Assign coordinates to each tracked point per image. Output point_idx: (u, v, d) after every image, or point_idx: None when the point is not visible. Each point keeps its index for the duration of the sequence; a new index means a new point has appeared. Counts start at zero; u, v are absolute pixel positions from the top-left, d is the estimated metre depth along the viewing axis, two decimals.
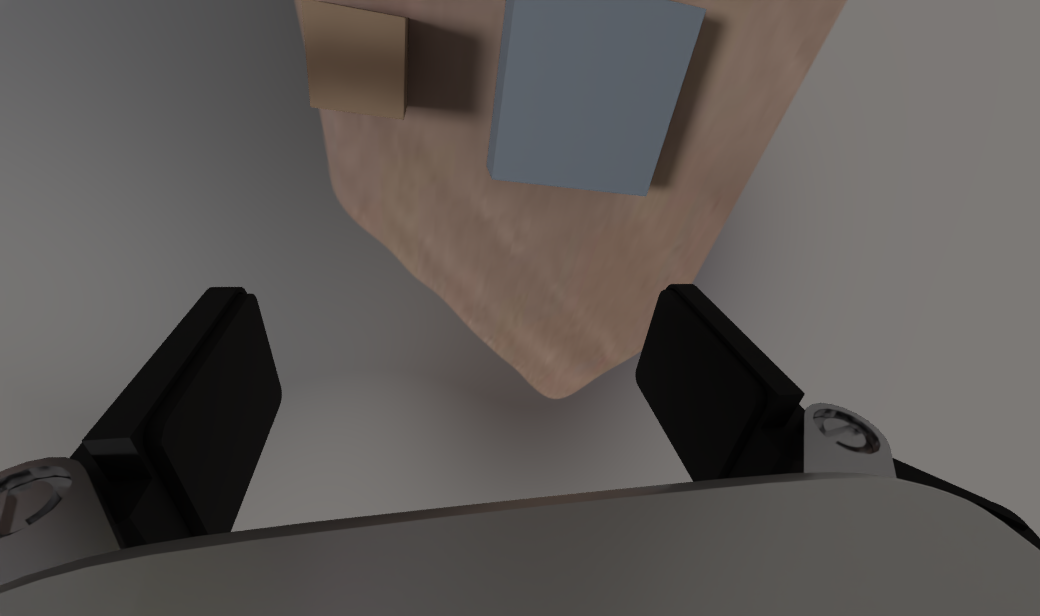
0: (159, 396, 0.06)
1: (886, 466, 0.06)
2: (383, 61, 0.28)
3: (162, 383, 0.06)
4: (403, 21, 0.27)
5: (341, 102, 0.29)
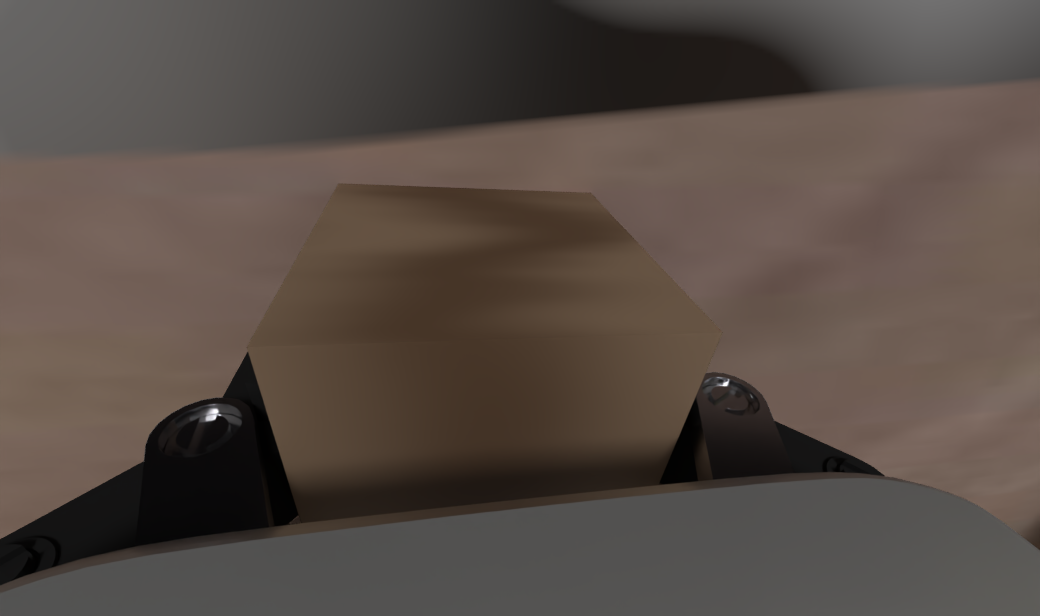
0: None
1: (769, 423, 0.07)
2: None
3: None
4: None
5: (324, 457, 0.06)
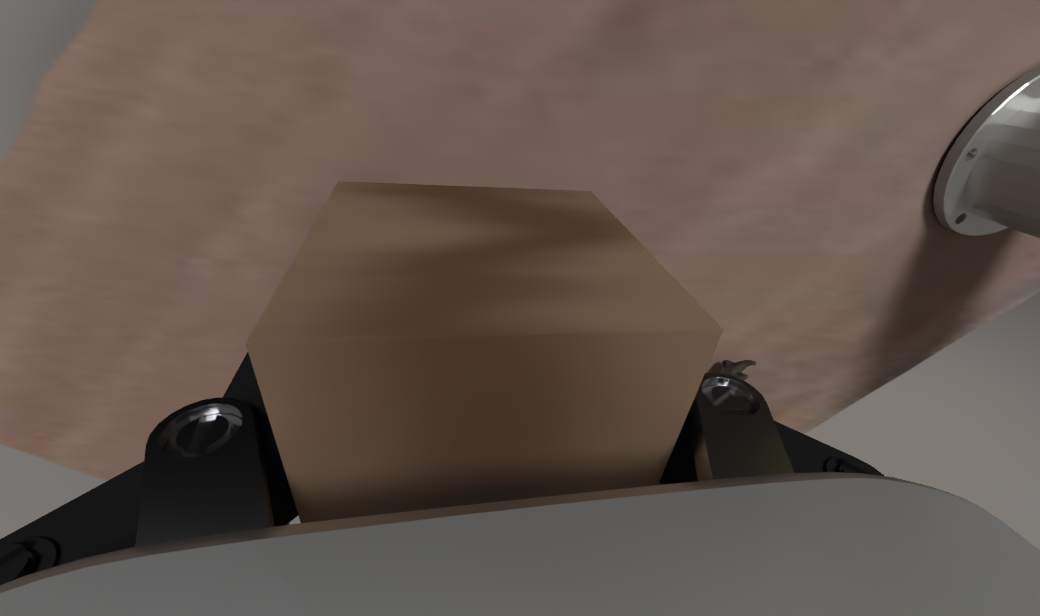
0: None
1: (768, 423, 0.07)
2: None
3: None
4: None
5: (323, 454, 0.06)
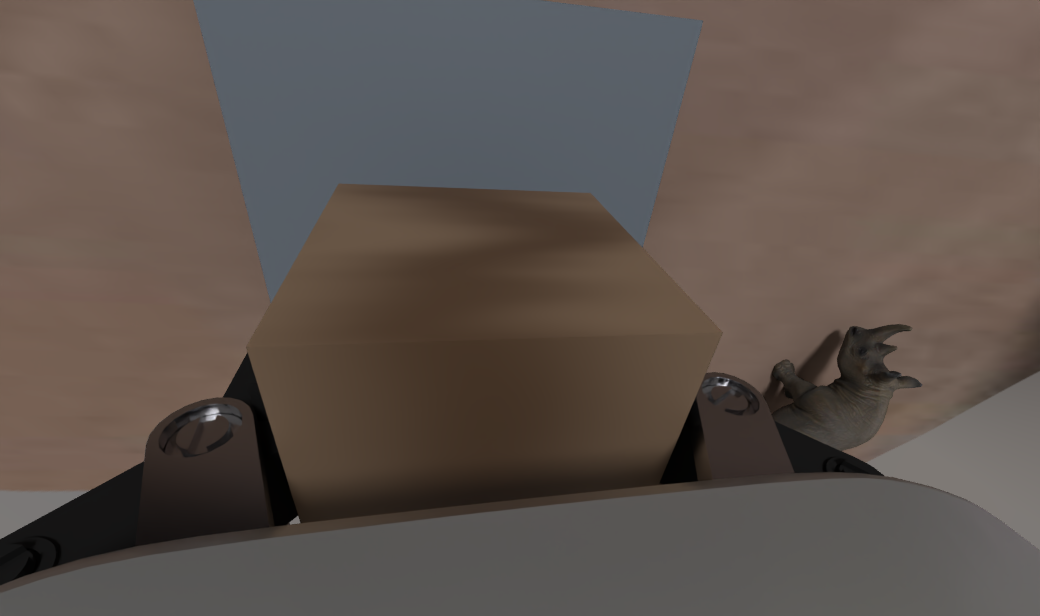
0: None
1: (768, 423, 0.07)
2: None
3: None
4: None
5: (324, 458, 0.06)
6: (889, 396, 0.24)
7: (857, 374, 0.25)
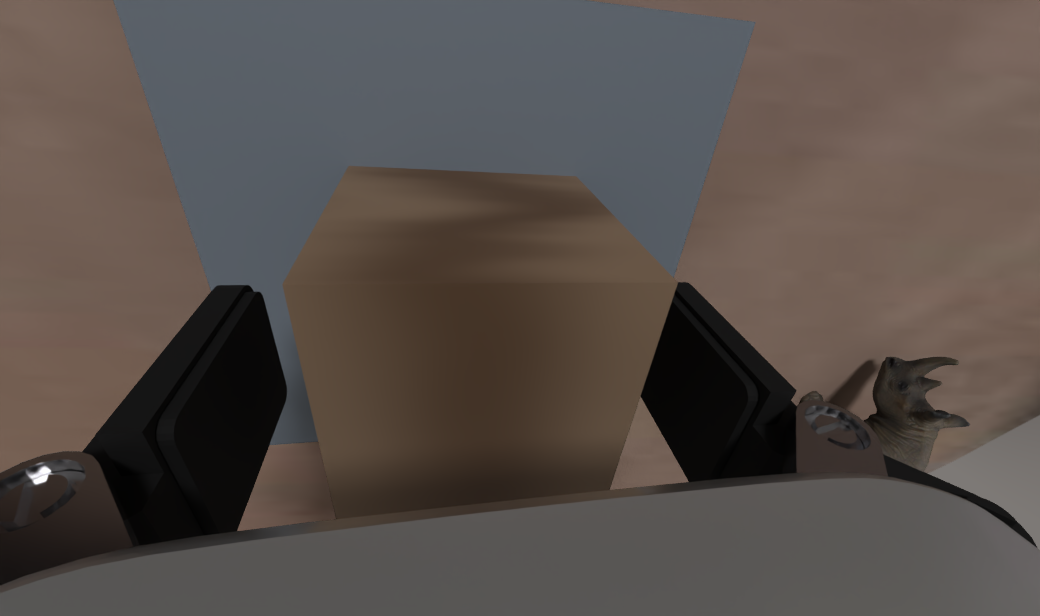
0: (170, 391, 0.06)
1: (877, 462, 0.06)
2: (502, 476, 0.09)
3: (173, 379, 0.06)
4: None
5: (341, 388, 0.07)
6: (934, 437, 0.22)
7: (897, 412, 0.23)
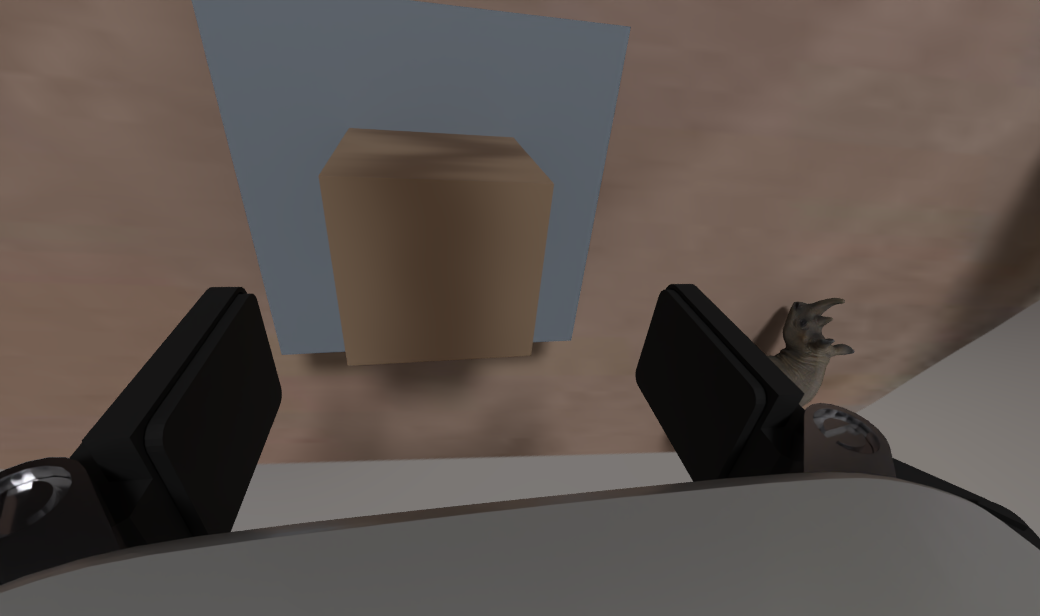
0: (159, 396, 0.06)
1: (886, 466, 0.06)
2: (456, 327, 0.14)
3: (162, 383, 0.06)
4: (525, 353, 0.15)
5: (351, 249, 0.12)
6: (826, 361, 0.27)
7: (799, 343, 0.28)
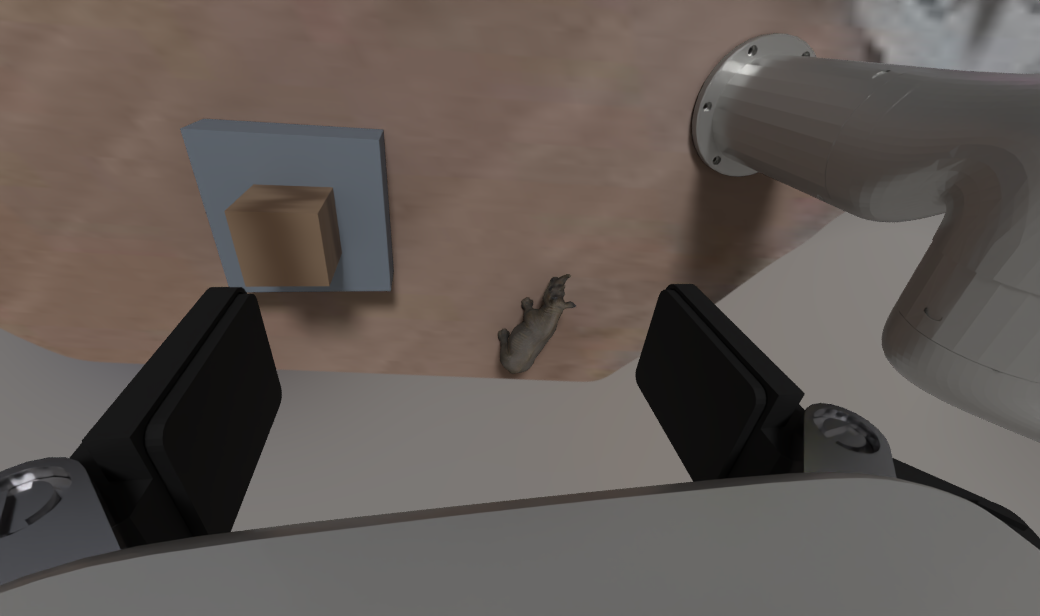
0: (159, 396, 0.06)
1: (886, 466, 0.06)
2: (290, 271, 0.33)
3: (162, 383, 0.06)
4: (326, 285, 0.34)
5: (240, 237, 0.31)
6: (558, 311, 0.46)
7: (546, 301, 0.47)
